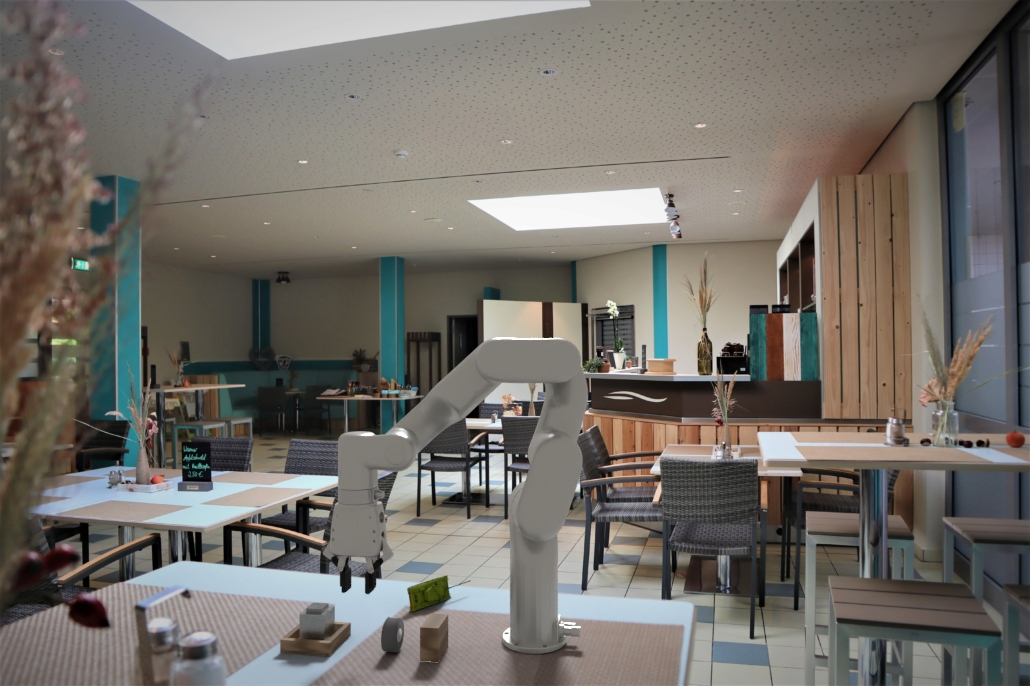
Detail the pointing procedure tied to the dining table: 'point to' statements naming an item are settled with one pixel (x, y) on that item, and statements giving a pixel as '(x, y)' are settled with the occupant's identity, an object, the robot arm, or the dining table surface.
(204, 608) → the dining table surface
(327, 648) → the tray
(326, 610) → the block
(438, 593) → the toy tank
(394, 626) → the wheel
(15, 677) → the dining table surface
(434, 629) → the block
